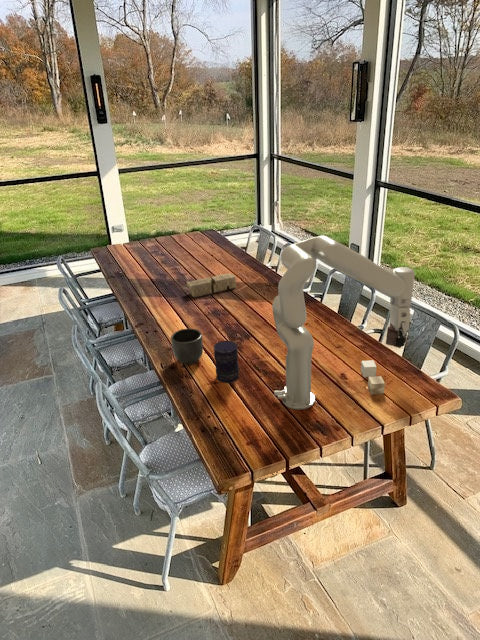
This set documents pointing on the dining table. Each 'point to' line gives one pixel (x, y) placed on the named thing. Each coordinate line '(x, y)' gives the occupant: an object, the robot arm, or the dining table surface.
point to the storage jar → (226, 361)
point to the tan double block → (211, 284)
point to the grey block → (368, 368)
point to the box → (392, 336)
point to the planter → (187, 345)
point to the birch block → (376, 385)
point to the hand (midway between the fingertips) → (396, 340)
